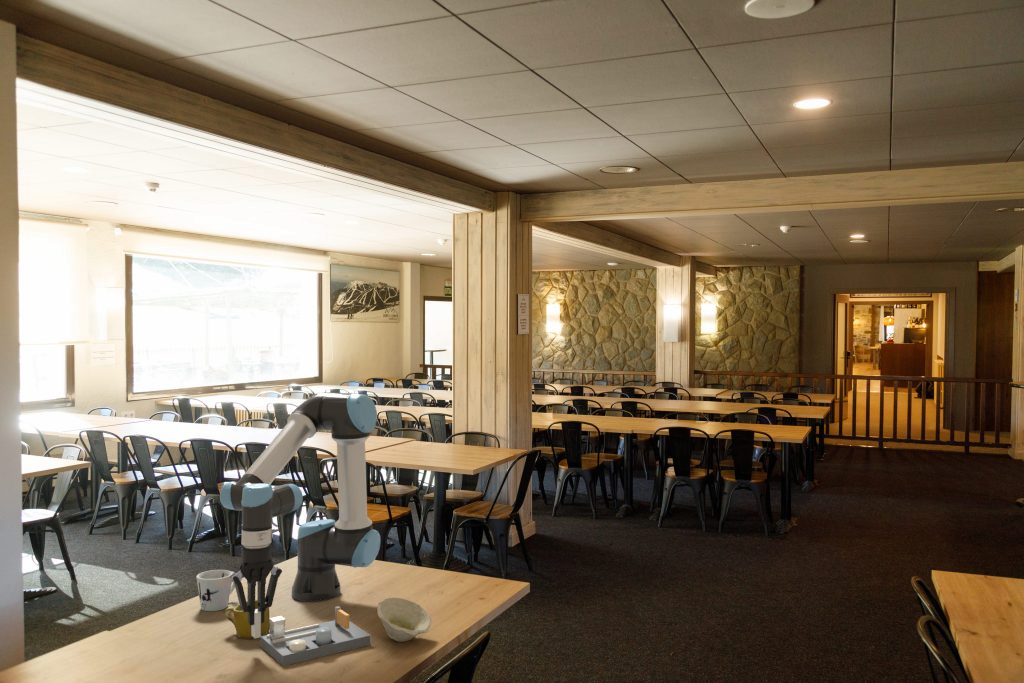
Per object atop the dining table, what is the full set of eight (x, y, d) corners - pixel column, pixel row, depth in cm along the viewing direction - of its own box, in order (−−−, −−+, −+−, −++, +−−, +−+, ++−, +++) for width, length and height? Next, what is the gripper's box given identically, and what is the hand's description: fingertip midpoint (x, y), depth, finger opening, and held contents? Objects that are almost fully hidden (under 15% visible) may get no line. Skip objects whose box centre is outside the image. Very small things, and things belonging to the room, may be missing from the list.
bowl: (406, 654, 204) (406, 615, 204) (365, 643, 211) (366, 605, 211) (441, 636, 217) (441, 599, 217) (402, 626, 224) (402, 591, 224)
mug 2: (284, 622, 221) (271, 591, 219) (262, 646, 212) (248, 614, 210) (249, 624, 226) (237, 594, 224) (227, 647, 217) (213, 616, 214)
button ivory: (287, 654, 202) (287, 641, 202) (302, 651, 204) (302, 638, 204) (293, 659, 198) (293, 646, 199) (308, 656, 201) (308, 643, 201)
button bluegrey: (313, 642, 206) (313, 629, 206) (327, 638, 208) (327, 626, 208) (319, 646, 203) (319, 634, 203) (334, 643, 205) (334, 630, 205)
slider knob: (269, 637, 208) (269, 618, 208) (281, 635, 210) (281, 615, 210) (273, 641, 205) (273, 621, 205) (285, 638, 207) (285, 619, 207)
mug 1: (188, 610, 236) (188, 576, 236) (223, 595, 249) (224, 564, 249) (215, 615, 232) (215, 581, 232) (250, 600, 245) (250, 568, 246)
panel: (260, 645, 209) (260, 634, 209) (344, 627, 223) (344, 616, 223) (282, 666, 196) (282, 653, 196) (370, 644, 210) (370, 633, 210)
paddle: (334, 624, 218) (334, 607, 218) (338, 623, 218) (339, 606, 218) (345, 632, 212) (345, 614, 212) (349, 631, 213) (350, 613, 213)
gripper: (235, 552, 197) (235, 646, 197) (286, 544, 205) (285, 635, 205) (226, 545, 203) (225, 637, 203) (276, 538, 211) (275, 626, 211)
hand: (256, 636), depth 204 cm, fingers closed
